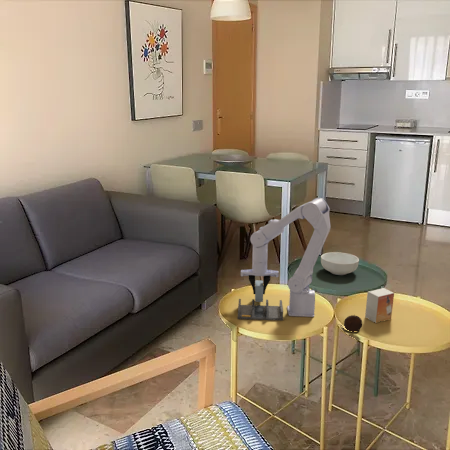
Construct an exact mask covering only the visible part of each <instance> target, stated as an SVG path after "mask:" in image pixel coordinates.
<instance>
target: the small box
mask: <svg viewBox="0 0 450 450" xmlns="http://www.w3.org/2000/svg"><path fill="white" fill-rule="evenodd" d="M394 297H395V292H393V291H391V290H389V289H387V288H385V287H382V288H378V289H374V290H370V291H367V294H366V305H365V316H364V317H365V318H366V319H367V318H368V320H369V321H370V322H373V323H374V322H375V324H377V322H378V323H381V322H385V321H388V319H390V320H391V319H392V315H393V305H394ZM384 320H385V321H384ZM380 321H381V322H380Z"/></svg>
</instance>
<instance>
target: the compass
mask: <svg viewBox="0 0 450 450" xmlns="http://www.w3.org/2000/svg"><path fill="white" fill-rule="evenodd" d="M343 324H344V326H345V328H346V329H347V330H349V331H352V332H351V333H355V332H354V331H358V332H360V331H359V330H361V329H362V327H363V320H362V318H361V317H359V316H357V315H355V314H351V315H348V316H347V317H346V318H345V319H344V321H343ZM343 324H340V325H337V328H340V327H341V326H342V325H343ZM342 329H343V330H344V328H342Z"/></svg>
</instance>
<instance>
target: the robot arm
mask: <svg viewBox="0 0 450 450" xmlns="http://www.w3.org/2000/svg"><path fill="white" fill-rule="evenodd" d="M330 210H331V208H330V206H329V205H328V203H327V200H325V199H324V198H323V197H316V198H313V199H312V200H311V201H308V202H305V203H303V204H301V205H299V206H297V207H296V208H294V209H293V210H291V211H290V212H289V213H287V214H286V215H285V216H283V217H281V219H275V218H274V219H270V220H268V221H267V222H268V223H267V224H266V225H263V226H261V227H259V229H258V230H257V231H254V232H253V233H252V234H251V235H250V240H249V241H250V243H251V245H252V262H251V263H252V266H251V269H241V270H240V277H248V281H249V282H250V284H251V288H252V291H253V292H252V293H253V295H255V280H256V277H263V295H265V294H266V289H267V287H268V284H269V283H270V282H271V277H272V278H273V277H274V278H279V272H280V271H279V270H273V269H268V252H269V251H268V250H269V249H268V247H269V243H270V242H271V241H272V240H273V239H275V238H276V237H278V236H280V235H281V234H282V233H284V231H285V227H287V226H288V225H290V224H291V223H293V222H294V221H297V220H298V219H301V220H304V219H305V220H307V222H308V223H309V224H310V225H311V226H312V228H313V229H314V230H313V233H312V235H311V237H310V239H309V242H308V244H307V246H306V249H305V251H304V253H303V256H302V258H301V259H300V260H301V261H300V263H299V266H298V267H297V269H296V270H295V272H294V274H293V275H292V276H291V277H290V278H289V279H288V281H287V287H288V289H289V302H288V303H289V305H287V307H286V308H287V314H288V316H289V317H308V318H309V317H312V318H314V317H315V309H316V292H315V290H314V289H310V284H311V283H312V281H313V274H314V267H315V264H316V263H317V260H318V258H319V255H320V254H321V251H322V249H323V247H324V244H325V243H326V240H327V237H328V236H329V233H330V231H331V228H332V227H331V220H330Z"/></svg>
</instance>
